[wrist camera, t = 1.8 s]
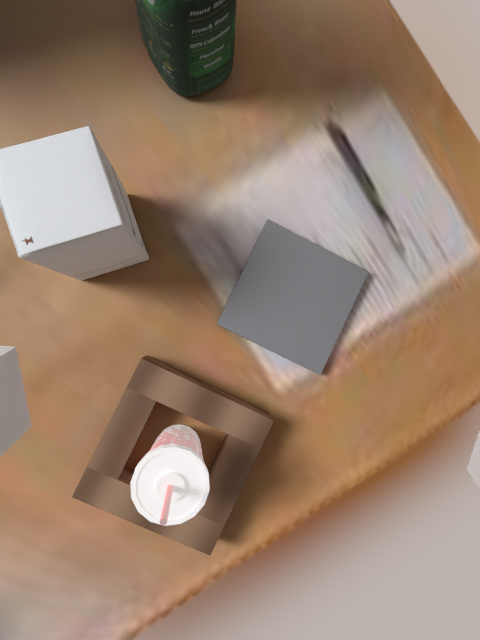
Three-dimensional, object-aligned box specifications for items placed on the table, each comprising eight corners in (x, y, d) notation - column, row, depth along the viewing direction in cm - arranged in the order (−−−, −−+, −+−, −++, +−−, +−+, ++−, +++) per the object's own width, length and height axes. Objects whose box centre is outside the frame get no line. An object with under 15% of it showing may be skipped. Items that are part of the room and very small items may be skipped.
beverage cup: (135, 442, 36) (93, 516, 22) (184, 404, 37) (172, 453, 23) (172, 489, 37) (153, 590, 23) (220, 450, 37) (230, 527, 23)
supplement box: (151, 260, 37) (125, 228, 24) (79, 282, 36) (14, 260, 23) (129, 191, 37) (90, 122, 24) (56, 211, 36) (-23, 151, 23)
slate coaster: (216, 324, 37) (216, 324, 36) (266, 222, 38) (268, 219, 37) (317, 373, 38) (320, 374, 37) (364, 273, 39) (368, 272, 38)
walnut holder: (82, 482, 36) (72, 497, 33) (146, 355, 37) (141, 358, 34) (209, 536, 37) (210, 555, 34) (268, 412, 38) (274, 420, 35)
